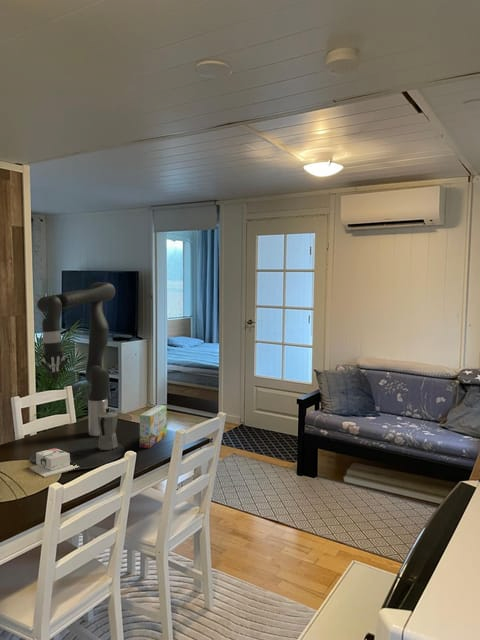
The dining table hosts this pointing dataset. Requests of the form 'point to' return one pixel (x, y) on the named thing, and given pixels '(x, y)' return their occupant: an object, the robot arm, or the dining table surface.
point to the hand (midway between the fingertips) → (55, 380)
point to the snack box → (153, 426)
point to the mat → (47, 473)
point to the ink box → (53, 459)
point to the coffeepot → (107, 430)
